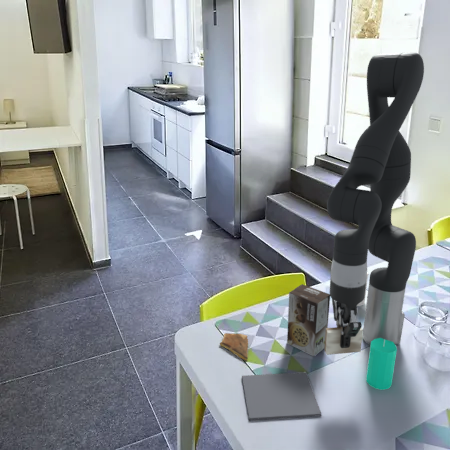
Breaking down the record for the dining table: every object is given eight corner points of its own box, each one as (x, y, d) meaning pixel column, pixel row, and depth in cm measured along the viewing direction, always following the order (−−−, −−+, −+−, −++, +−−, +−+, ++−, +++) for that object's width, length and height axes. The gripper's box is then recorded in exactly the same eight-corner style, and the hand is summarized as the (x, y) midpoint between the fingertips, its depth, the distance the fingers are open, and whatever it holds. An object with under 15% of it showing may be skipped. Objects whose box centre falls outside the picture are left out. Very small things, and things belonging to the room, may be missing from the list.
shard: (247, 363, 120) (247, 357, 119) (218, 362, 121) (217, 356, 120) (248, 339, 130) (248, 333, 130) (221, 338, 131) (221, 332, 130)
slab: (357, 347, 108) (359, 325, 106) (360, 351, 107) (362, 329, 105) (324, 350, 108) (325, 328, 106) (326, 354, 106) (328, 332, 104)
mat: (306, 374, 115) (306, 372, 115) (321, 415, 102) (321, 413, 102) (242, 377, 114) (242, 375, 114) (249, 420, 101) (249, 418, 101)
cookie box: (327, 346, 126) (331, 294, 120) (313, 357, 122) (318, 303, 116) (299, 333, 132) (302, 283, 126) (285, 343, 127) (288, 291, 122)
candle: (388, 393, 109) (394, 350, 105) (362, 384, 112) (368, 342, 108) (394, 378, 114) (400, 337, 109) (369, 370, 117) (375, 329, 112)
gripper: (377, 292, 94) (370, 361, 101) (354, 262, 107) (348, 325, 113) (341, 295, 94) (336, 364, 100) (322, 264, 106) (318, 328, 113)
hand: (343, 343), depth 107 cm, fingers closed on slab, 1 cm apart
